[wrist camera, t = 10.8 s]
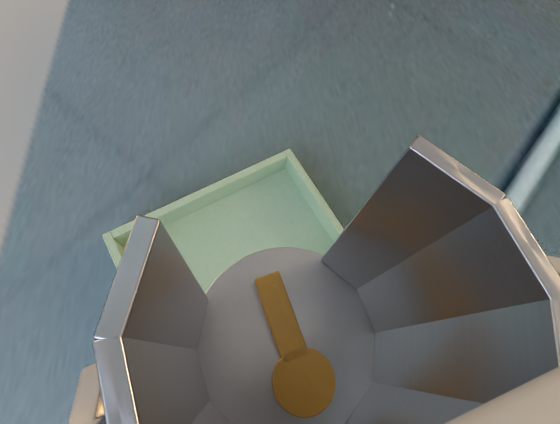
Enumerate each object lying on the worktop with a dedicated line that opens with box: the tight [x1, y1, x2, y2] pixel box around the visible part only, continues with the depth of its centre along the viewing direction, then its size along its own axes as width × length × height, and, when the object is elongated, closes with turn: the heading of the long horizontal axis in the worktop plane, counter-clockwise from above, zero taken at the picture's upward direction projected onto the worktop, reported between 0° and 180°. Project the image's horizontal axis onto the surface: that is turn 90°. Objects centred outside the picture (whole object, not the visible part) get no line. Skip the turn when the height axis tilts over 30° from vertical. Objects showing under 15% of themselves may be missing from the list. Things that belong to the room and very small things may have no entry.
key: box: [254, 271, 336, 418], centre depth 13 cm, size 5×2×1 cm, turn 20°
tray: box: [102, 149, 344, 293], centre depth 26 cm, size 15×10×2 cm
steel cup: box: [93, 135, 560, 424], centre depth 9 cm, size 7×7×9 cm
